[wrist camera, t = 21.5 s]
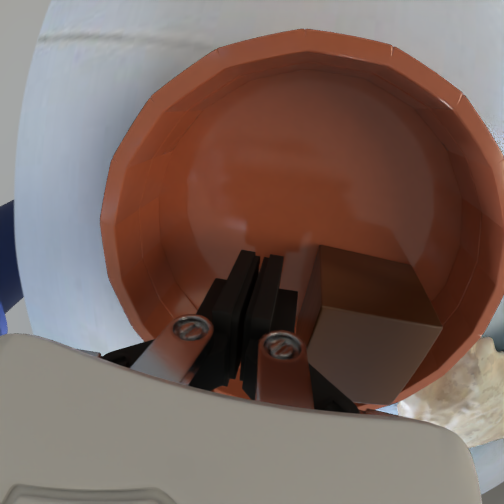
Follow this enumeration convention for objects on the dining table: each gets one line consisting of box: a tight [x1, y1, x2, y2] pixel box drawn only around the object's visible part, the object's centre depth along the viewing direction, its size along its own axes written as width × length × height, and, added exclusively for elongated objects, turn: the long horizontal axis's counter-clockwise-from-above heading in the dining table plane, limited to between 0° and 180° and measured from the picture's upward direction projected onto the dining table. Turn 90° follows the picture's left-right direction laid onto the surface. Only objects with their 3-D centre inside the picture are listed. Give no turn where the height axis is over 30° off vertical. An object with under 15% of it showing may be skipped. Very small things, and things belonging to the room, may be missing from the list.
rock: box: [397, 337, 504, 448], centre depth 14 cm, size 4×13×20 cm
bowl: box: [100, 29, 504, 411], centre depth 12 cm, size 15×15×4 cm
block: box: [296, 245, 443, 405], centre depth 12 cm, size 4×4×4 cm
